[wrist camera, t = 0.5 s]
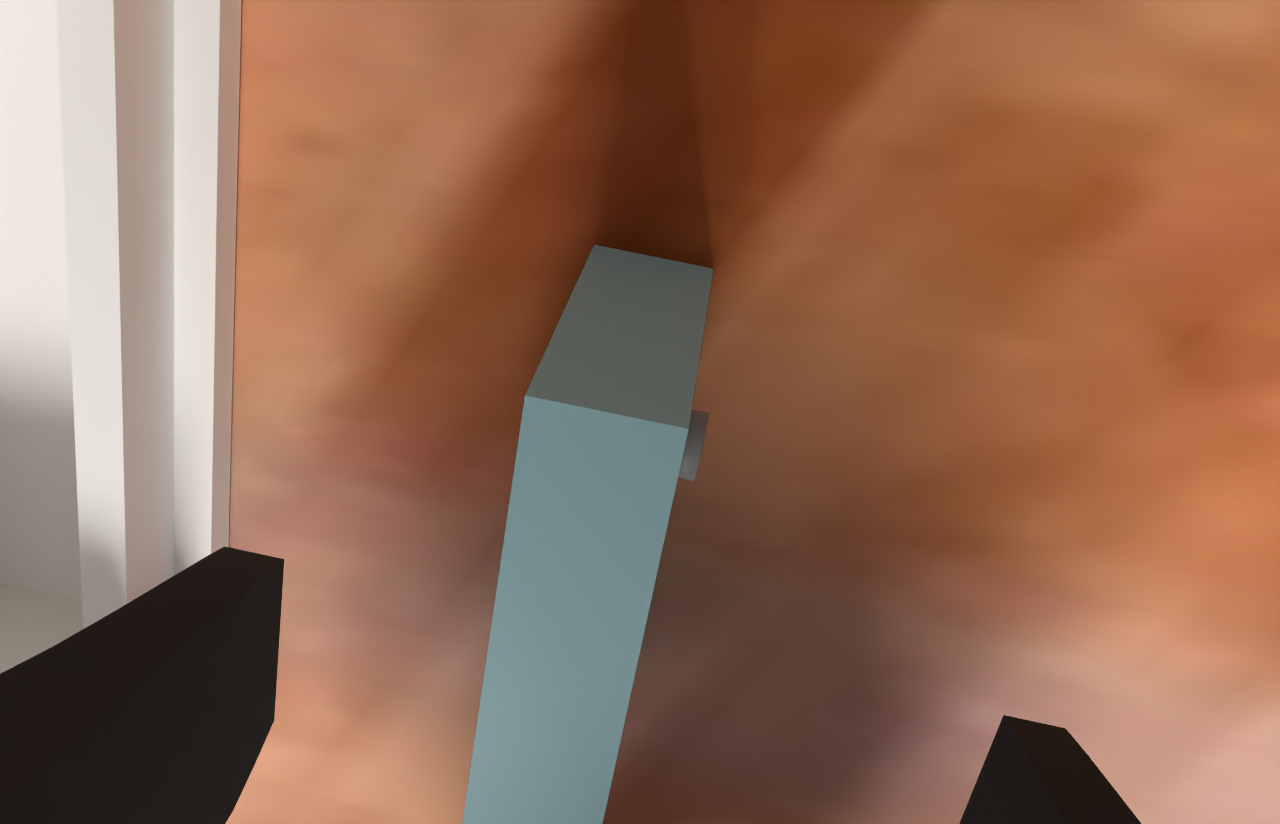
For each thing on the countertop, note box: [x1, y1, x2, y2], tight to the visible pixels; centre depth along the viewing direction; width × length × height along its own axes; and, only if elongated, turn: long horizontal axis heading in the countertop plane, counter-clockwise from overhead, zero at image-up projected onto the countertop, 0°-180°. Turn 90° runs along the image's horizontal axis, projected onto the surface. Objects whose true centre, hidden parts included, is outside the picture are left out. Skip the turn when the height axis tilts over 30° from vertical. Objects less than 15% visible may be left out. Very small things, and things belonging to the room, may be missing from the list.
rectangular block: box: [462, 245, 713, 824], centre depth 19 cm, size 8×2×6 cm, turn 170°
